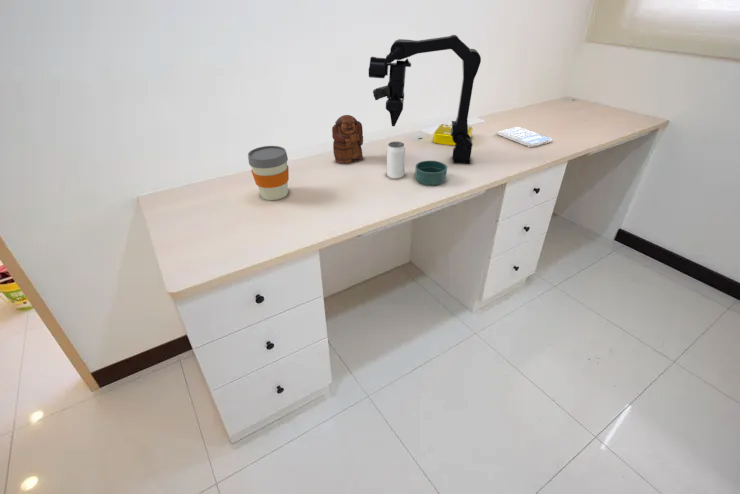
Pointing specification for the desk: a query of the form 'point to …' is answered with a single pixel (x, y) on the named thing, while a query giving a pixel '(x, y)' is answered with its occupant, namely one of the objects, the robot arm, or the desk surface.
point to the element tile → (446, 134)
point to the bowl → (430, 173)
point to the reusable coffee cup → (270, 171)
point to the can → (395, 160)
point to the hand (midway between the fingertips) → (393, 122)
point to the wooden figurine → (347, 140)
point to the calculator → (524, 136)
